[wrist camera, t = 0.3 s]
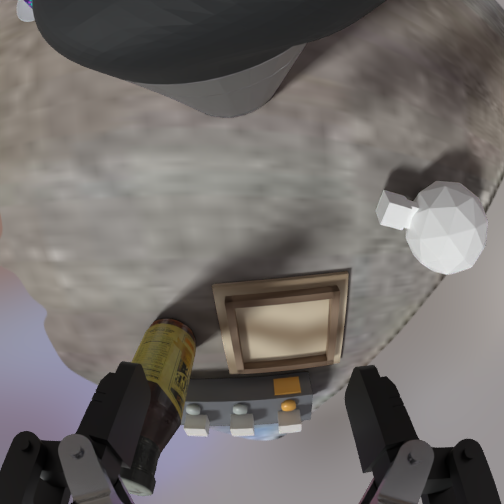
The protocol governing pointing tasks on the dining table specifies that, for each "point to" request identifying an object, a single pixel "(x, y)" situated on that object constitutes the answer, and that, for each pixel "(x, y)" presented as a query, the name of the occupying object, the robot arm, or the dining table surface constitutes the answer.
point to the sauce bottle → (160, 397)
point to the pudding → (25, 10)
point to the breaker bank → (247, 403)
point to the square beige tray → (282, 322)
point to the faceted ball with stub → (439, 225)
